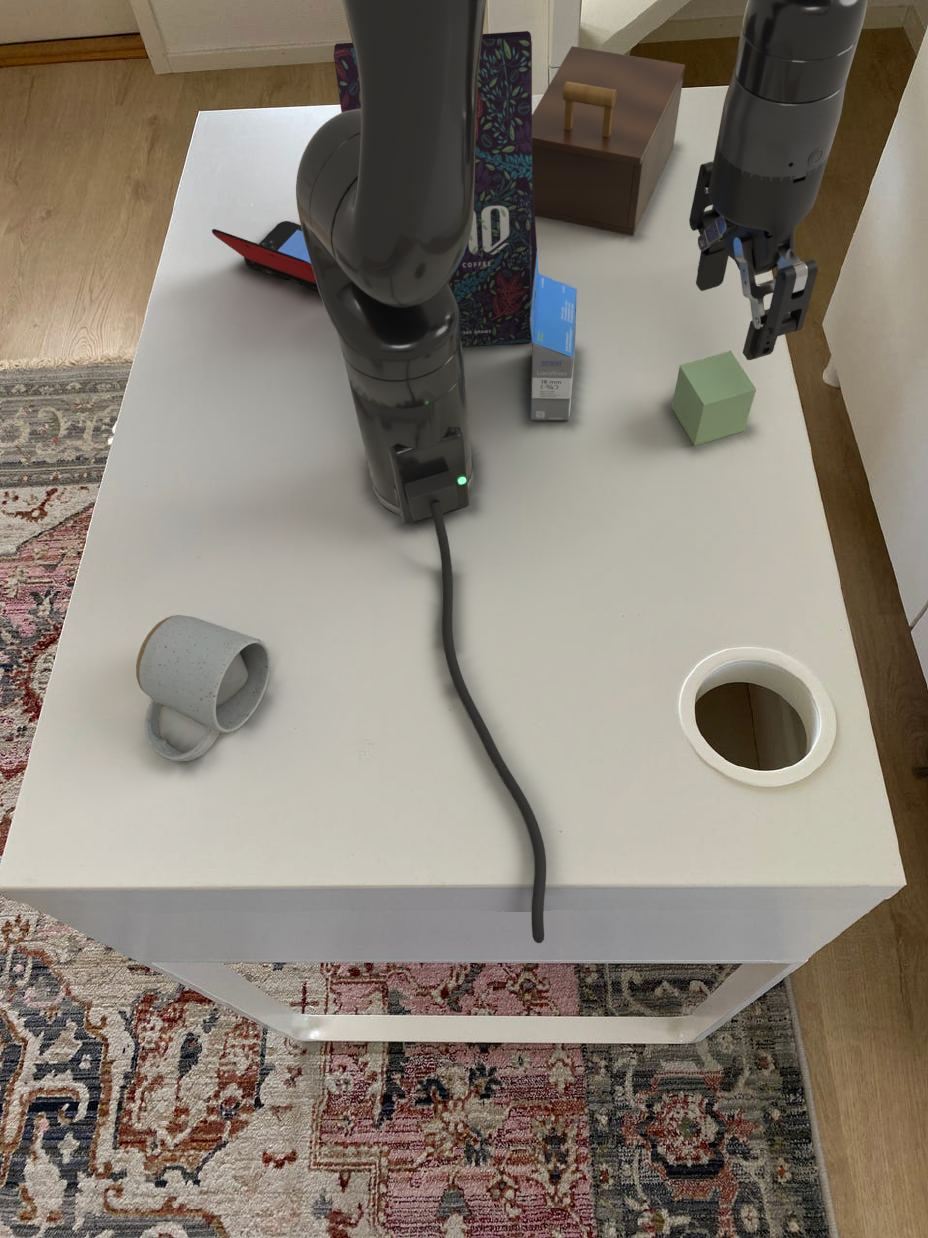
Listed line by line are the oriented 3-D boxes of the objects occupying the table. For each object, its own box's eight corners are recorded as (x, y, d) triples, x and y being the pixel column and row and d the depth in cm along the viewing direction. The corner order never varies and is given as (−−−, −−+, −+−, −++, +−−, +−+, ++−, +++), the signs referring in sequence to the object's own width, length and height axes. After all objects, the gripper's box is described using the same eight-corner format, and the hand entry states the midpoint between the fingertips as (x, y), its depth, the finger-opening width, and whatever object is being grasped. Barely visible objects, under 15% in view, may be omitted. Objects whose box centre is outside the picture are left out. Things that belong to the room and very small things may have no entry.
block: (744, 431, 87) (756, 389, 82) (694, 446, 86) (704, 405, 82) (719, 393, 89) (730, 350, 84) (671, 407, 89) (679, 365, 84)
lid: (640, 165, 93) (646, 113, 88) (520, 142, 96) (519, 90, 91) (684, 71, 100) (692, 18, 95) (571, 52, 103) (573, 0, 98)
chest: (633, 236, 101) (642, 160, 93) (523, 212, 104) (522, 138, 96) (673, 148, 108) (684, 72, 100) (568, 129, 110) (571, 53, 103)
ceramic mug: (197, 635, 79) (165, 590, 73) (281, 667, 77) (256, 623, 71) (128, 745, 75) (88, 707, 68) (216, 782, 73) (183, 747, 66)
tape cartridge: (570, 423, 89) (576, 323, 78) (529, 421, 89) (529, 322, 78) (574, 353, 93) (580, 250, 82) (534, 352, 93) (535, 249, 82)
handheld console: (379, 258, 101) (369, 198, 95) (323, 323, 97) (308, 264, 90) (284, 225, 105) (268, 164, 98) (227, 286, 101) (206, 227, 94)
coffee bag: (537, 346, 94) (541, 64, 69) (373, 354, 94) (320, 78, 70) (533, 288, 98) (535, 3, 73) (376, 297, 98) (327, 17, 74)
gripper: (678, 93, 67) (653, 277, 81) (775, 216, 60) (729, 393, 74) (774, 66, 67) (733, 253, 81) (881, 184, 61) (816, 365, 75)
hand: (731, 319), depth 78 cm, fingers open, 8 cm apart
